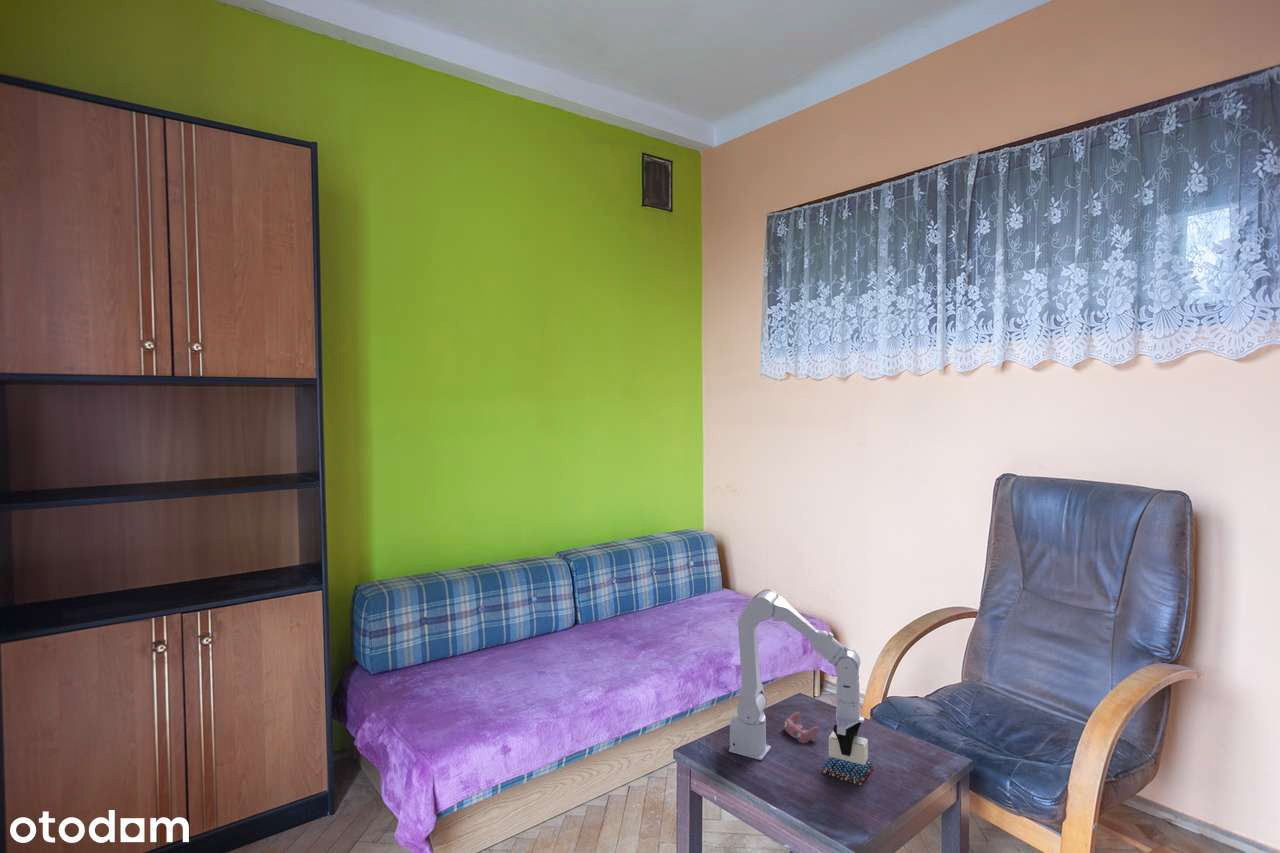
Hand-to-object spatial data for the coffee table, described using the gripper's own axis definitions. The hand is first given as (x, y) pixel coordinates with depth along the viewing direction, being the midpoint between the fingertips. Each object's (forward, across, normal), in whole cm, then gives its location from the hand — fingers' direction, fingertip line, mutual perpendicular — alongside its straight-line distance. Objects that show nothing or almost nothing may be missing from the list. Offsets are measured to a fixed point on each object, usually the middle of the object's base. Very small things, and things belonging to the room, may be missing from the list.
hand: (848, 750), depth 172 cm
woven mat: (+6, 0, 0) cm, 6 cm away
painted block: (+2, 0, 0) cm, 2 cm away
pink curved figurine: (+3, +15, +14) cm, 21 cm away
